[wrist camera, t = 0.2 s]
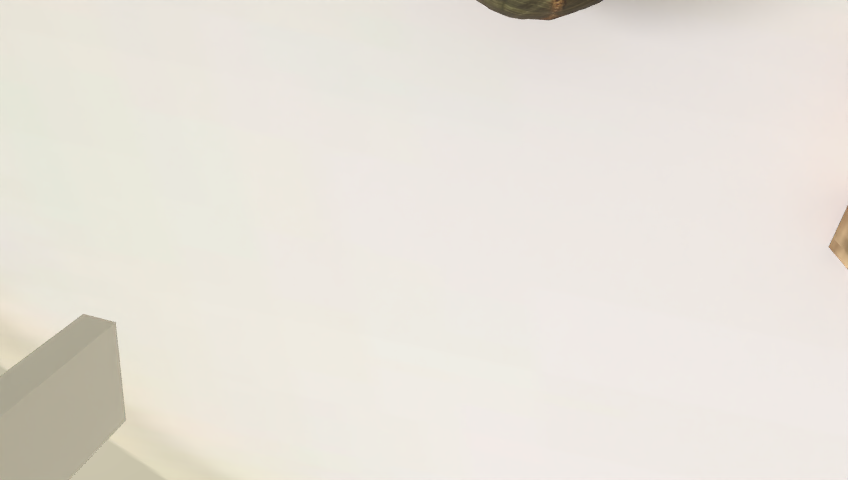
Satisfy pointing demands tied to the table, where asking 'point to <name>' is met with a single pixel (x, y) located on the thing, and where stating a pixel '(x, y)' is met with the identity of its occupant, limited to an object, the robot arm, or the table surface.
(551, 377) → the table surface
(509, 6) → the shell
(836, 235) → the corral
